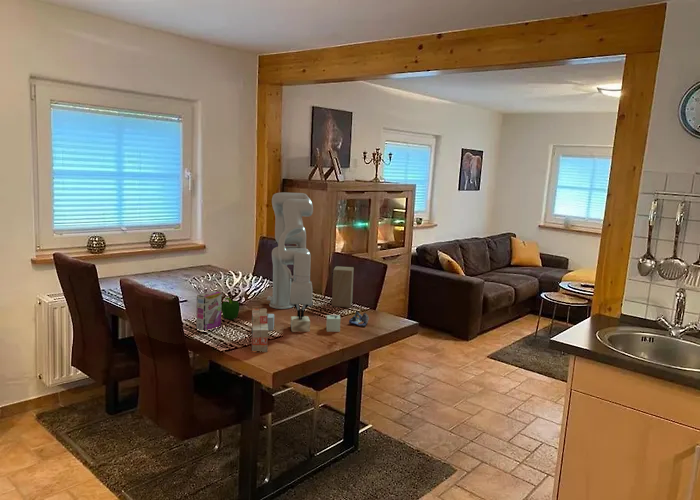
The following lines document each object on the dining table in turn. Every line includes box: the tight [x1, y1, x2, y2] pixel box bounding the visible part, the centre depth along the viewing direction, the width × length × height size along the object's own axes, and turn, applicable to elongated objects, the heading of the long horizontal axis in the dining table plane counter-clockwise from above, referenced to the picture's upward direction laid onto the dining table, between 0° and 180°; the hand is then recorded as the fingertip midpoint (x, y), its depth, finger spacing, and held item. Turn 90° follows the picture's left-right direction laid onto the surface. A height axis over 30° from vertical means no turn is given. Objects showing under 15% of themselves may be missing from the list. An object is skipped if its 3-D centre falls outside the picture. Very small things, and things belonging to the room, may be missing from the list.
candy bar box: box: [195, 290, 223, 331], centre depth 238 cm, size 11×5×16 cm, turn 152°
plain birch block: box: [290, 315, 311, 333], centre depth 245 cm, size 8×8×5 cm
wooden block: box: [331, 265, 355, 308], centre depth 289 cm, size 10×10×20 cm
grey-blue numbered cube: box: [267, 313, 275, 331], centre depth 244 cm, size 6×6×6 cm
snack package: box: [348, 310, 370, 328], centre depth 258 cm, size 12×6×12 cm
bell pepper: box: [221, 297, 240, 320], centre depth 257 cm, size 8×8×10 cm
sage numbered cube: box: [325, 314, 341, 333], centre depth 247 cm, size 6×6×6 cm
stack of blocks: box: [251, 308, 269, 353], centre depth 223 cm, size 21×6×12 cm, turn 11°
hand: (300, 318), depth 245 cm, fingers closed
